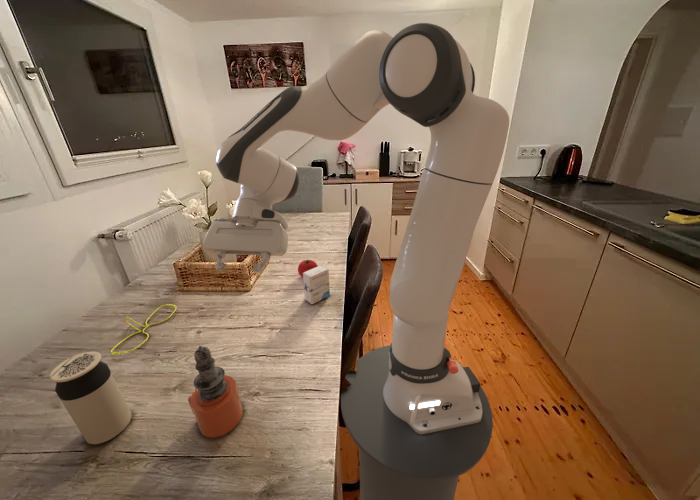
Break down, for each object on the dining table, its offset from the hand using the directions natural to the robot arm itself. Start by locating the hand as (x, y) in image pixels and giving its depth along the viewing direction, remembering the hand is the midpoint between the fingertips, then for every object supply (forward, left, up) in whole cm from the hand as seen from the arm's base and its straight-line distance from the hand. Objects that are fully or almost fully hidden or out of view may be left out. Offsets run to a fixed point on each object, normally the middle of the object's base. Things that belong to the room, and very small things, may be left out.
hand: (238, 271), depth 65 cm
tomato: (-6, -50, -29) cm, 58 cm away
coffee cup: (+4, +15, -29) cm, 33 cm away
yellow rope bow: (+43, -16, -29) cm, 54 cm away
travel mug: (+28, +17, -29) cm, 44 cm away
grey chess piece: (+4, +15, -21) cm, 26 cm away
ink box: (-12, -33, -29) cm, 46 cm away
